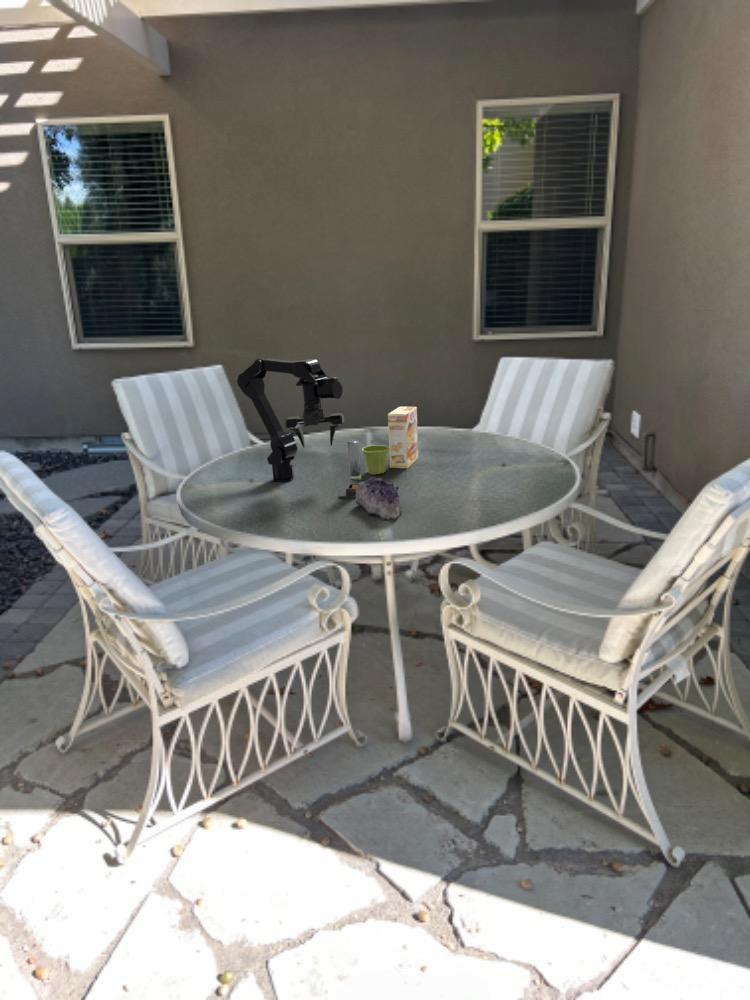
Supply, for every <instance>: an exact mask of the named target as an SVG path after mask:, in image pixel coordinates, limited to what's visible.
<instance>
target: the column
mask: <svg viewBox="0 0 750 1000" xmlns="http://www.w3.org/2000/svg"><path fill="white" fill-rule="evenodd" d="M347 449H348V451H347V453H348V465H349V468H348V469H349V479H350V481H359V480H361V479H362V474H361V473H362V472H361V460H360V459H361V457H360V455H361V454H360V441H359V440H349V441H347Z"/></svg>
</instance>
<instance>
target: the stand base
mask: <svg viewBox="0 0 750 1000" xmlns="http://www.w3.org/2000/svg"><path fill="white" fill-rule="evenodd" d="M358 484H359V483H348V484H347V486H342V488H341V490H340V492H339V494H338V496H337V497H338V499H341V500H342V499H356V490H357V486H358Z"/></svg>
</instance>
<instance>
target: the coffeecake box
mask: <svg viewBox="0 0 750 1000" xmlns="http://www.w3.org/2000/svg"><path fill="white" fill-rule="evenodd" d="M387 431H388V433H387V434H388V447H389V450H388V454H389V468H391V469H393V468H394V469H409V468H410V467H411V466H412V465H413V464H414V463H415V462H416V461H417V460H418V459H419V446H418V445H419V441H418V440H419V438H418V407H417V406H398V407H397V408H395V409H393V410H392V411H391V412H389V413H387Z"/></svg>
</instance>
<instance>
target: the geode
mask: <svg viewBox="0 0 750 1000" xmlns="http://www.w3.org/2000/svg"><path fill="white" fill-rule="evenodd" d="M357 484H358V486H357V490H356V498H355V504H357V505H358V506H361V507H363V510H364V511H365V512H366V513H367V514H368V515H371V516H372V515H373V516H378V517H379V518H380V519H381V520H382V521H391V520H392V521H397V520H398V519H400V516H402V513H403V510H402V506H401V505H402V503H401V499H400V494H399V493H398V491H399V488H400V487H399V485H397V486H395V484H394V482H389V481H386V480H385V479H382V478H381V477H379V478H376V477H374V476H373V477H369V478H368V479H367V480H366V481H360V482H358V483H357Z"/></svg>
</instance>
